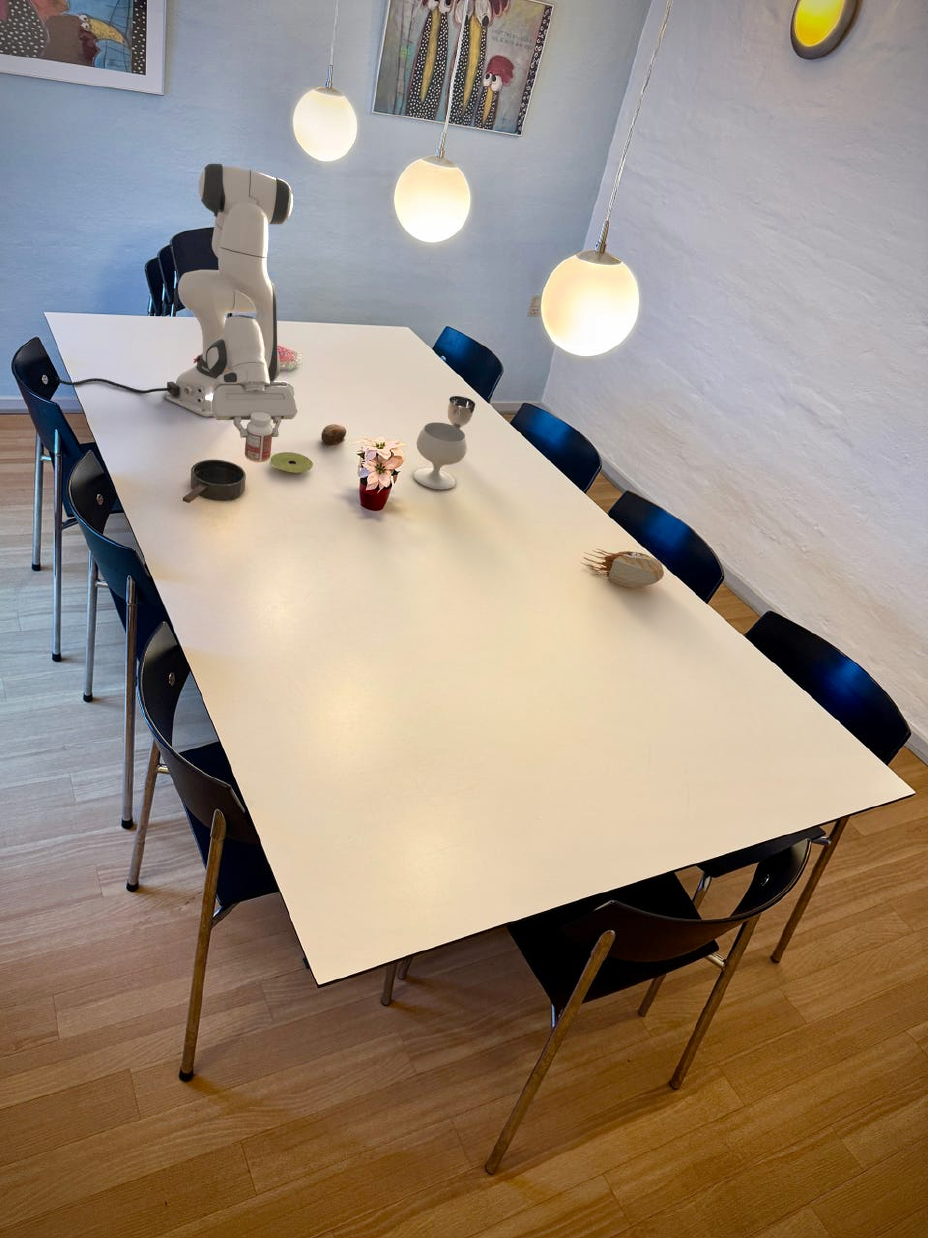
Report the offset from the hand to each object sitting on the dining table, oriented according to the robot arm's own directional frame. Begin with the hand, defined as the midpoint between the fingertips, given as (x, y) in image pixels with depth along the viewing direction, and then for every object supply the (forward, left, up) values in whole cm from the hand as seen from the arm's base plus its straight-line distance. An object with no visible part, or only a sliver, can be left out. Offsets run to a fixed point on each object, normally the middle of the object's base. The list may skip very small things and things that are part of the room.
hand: (259, 436), depth 213 cm
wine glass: (+33, +64, -17) cm, 74 cm away
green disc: (0, +20, -17) cm, 26 cm away
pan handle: (-10, -12, -14) cm, 21 cm away
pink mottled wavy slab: (-35, +77, -17) cm, 87 cm away
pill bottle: (0, +1, -6) cm, 6 cm away
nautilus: (+93, +22, -17) cm, 97 cm away
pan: (-10, -1, -17) cm, 20 cm away
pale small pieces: (+22, +21, -17) cm, 35 cm away
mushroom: (+3, +41, -17) cm, 45 cm away
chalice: (+35, +40, -17) cm, 56 cm away
